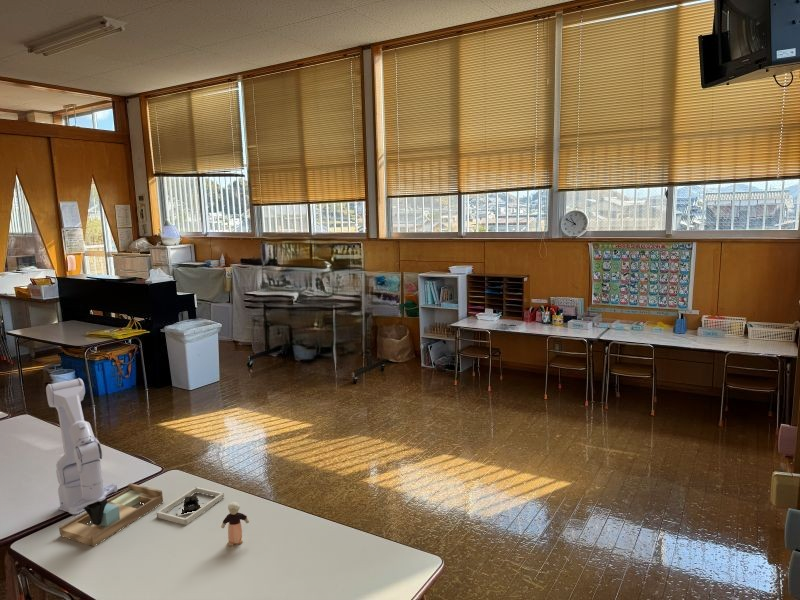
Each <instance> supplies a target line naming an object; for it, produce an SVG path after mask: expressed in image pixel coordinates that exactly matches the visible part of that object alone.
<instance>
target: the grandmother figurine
mask: <svg viewBox="0 0 800 600" xmlns="http://www.w3.org/2000/svg"><path fill="white" fill-rule="evenodd" d="M240 508H241V506H240V504H239V503H238V502H236V501H232V502H230V503H229V504H228V506H227V510H228V511H229V513H228V514H227V515H226V516H225V518H224V519H223V520H222V524H221V526H220V527H221V529H225V528H226V525H227V524H228V527H227V531H228V532H227V535H228V536H227V537H228V538H227V539H228V541H227V543H226V547H231V546H233V545H241V544H243V543H244V541H243V529H242V528H243V527H242V521H244V522H245V524H249V523H250V520H249V519H248V515H247V514H244V513H242V512H239V510H240ZM241 520H242V521H241Z"/></svg>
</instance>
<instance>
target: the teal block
mask: <svg viewBox="0 0 800 600" xmlns="http://www.w3.org/2000/svg"><path fill="white" fill-rule="evenodd" d="M119 519H120V514H119V506H117V505H113V504H109V503H108V504H106V506H105V509H104V511H103V516H102V521H101V524H100V525H102V526H105V527H108V526H109V525H111V524H113V523H114V522H116V521H118V520H119Z"/></svg>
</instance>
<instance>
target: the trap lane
mask: <svg viewBox="0 0 800 600" xmlns="http://www.w3.org/2000/svg"><path fill="white" fill-rule="evenodd" d="M127 486H128V488H126V489H124V490H123V491H121V492H120V493H117V494H116V495H114V496H112V497H110V498H109V499H107V504H108V503H109V504H113V505H117V506H119V514H120V519H119V520H118V521H116V522H114V523H113V524H111V525H109V526H108V527H105V526H102V525H98V526H97V525H94V524H93V522H92V520H91V518H90V516H89V514H88V513H87V512H86V511H85V512H84V513H82V514H81V515H80V514H79V516H77V517H75V518H73V519H71V520H70V521H67V522H65V523H64V524H62V525H61V526H59V527H58V530H59V535H61V536H64V537H67V538H70V539H73V540H72V541H74V540H75V541H74V542H77V541H78V543H80V542H82V543H81V544H83V543H85V544H84V545H86V544H88V545H87V546H90V545H92V546H91V547H93V546H94V547H96V546H97V545H96V544H98V543H99V544H101V543H102V542H104V541H105V540H107V539H108V537H109V536H110V537H112V536H113V535H115V534H116V533H115V532H117V531H118V532H120V531H121V530H123V529H124V528H126V527H127V525H128V524H129V525H130V523H131V524H132V523H134V522H135V520H136V519H137V520H139V519H140V518H141V516H142V517H144V516H145V515H147V514H148V513H150V512H151V511H153V510H154V509H156V508H157V507H156V506H158V505H159V504H161V503H162V502H163V503H164V498H163V491H162V490H159V489H156V488H153V487H148V486H144V485H140V484H135V483H132V482H130V483H129V484H128V485H127ZM140 502H141V504H140ZM142 503H144V505H143V504H142ZM163 503H162V504H163ZM162 504H161V505H162ZM159 506H160V505H159ZM159 506H158V507H159ZM155 507H156V508H155ZM153 508H154V509H153ZM152 509H153V510H152ZM150 510H151V511H150ZM149 511H150V512H149ZM147 512H148V513H147ZM146 513H147V514H146ZM144 514H145V515H144ZM139 517H140V518H139ZM138 518H139V519H138ZM137 520H136V521H137ZM90 521H91V523H90ZM133 521H134V522H133ZM87 523H88V524H87ZM129 525H128V526H129ZM125 526H126V527H125ZM123 527H124V528H123ZM122 528H123V529H122ZM120 529H121V530H120ZM119 530H120V531H119ZM118 532H117V533H118ZM114 533H115V534H114ZM112 534H113V535H112ZM111 535H112V536H111ZM61 536H60V537H61ZM64 537H63V538H64ZM110 537H109V538H110ZM67 538H66V539H67ZM106 538H107V539H106ZM70 539H69V540H70ZM104 539H105V540H104ZM103 540H104V541H103ZM101 541H102V542H101ZM100 542H101V543H100ZM99 544H98V545H99ZM95 545H96V546H95Z"/></svg>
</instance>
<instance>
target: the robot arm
mask: <svg viewBox="0 0 800 600" xmlns="http://www.w3.org/2000/svg"><path fill="white" fill-rule="evenodd" d="M45 392H46V393H45V394H46V399H47V404H48V406H49V408H55V409H56V410H57V415H58V421H59V427H60V428H59V429H60V433H61V439H62V446H63V447H62V448H63V453H64V454H63V456H61V457H60V458H59V459H58V460H57V461H56V463H55V468H56V471H55V472H56V473H55V474H56V478H57V482H58V484H59V485H58V489H57V492H58V493H57V494H58V500H59V506H58V507H57V510H60V511H63V512H67V513H69V514H71V515H80V514H81V513H82V512H84V511H85V512H87V513H88V514H89V516H90V518H91V520H92V522H93V524H94V525H97V526H98V525H100V524H101V521H102V516H103V511H104V509H105V506H106V504H107V500H108V499H106V497H107V496H108V495H110V494H112V493H116V492H117V491H118V490H119V489H118V485H117V484H116V483H115V484H114V483H111V484H109V485H107V486H105V485H104V479H103V473H102V472H103V471H102V464H101V462H102V461H101V460H102V459H103V449H102V446H101V443H100V441H99V440H98V437H95V434H94V432H93V429H92V425H91V423H90V422H89V421H87V420H85V417H84V413H83V409H82V404H81V402H82V401H84V397H85V394H86V387H85V383H84V381H83V379H82V378H80V377H78V378H75V379H71V380H70V379H69V380H66V381H60V382H55V383H48V384H47V385H46V387H45Z"/></svg>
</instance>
